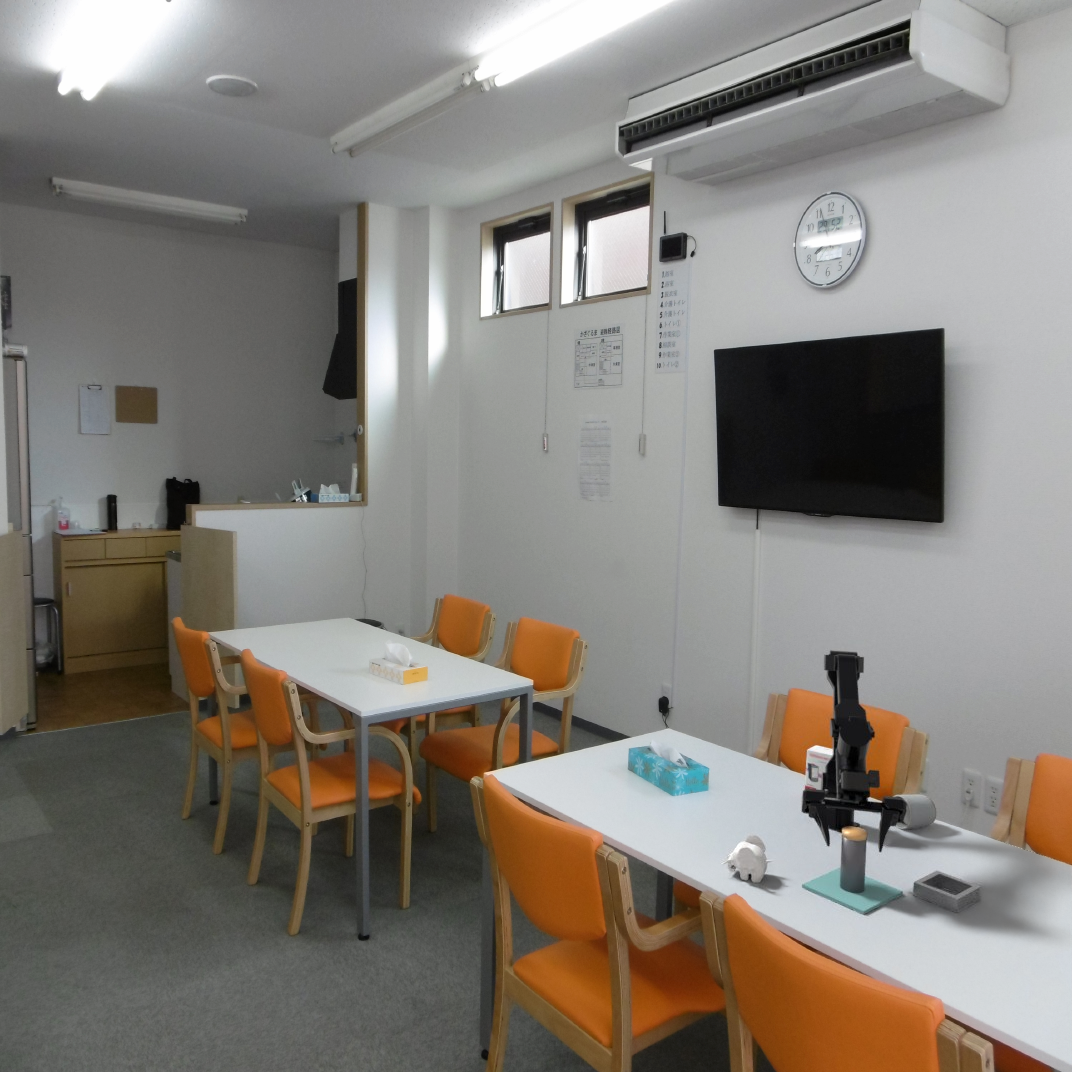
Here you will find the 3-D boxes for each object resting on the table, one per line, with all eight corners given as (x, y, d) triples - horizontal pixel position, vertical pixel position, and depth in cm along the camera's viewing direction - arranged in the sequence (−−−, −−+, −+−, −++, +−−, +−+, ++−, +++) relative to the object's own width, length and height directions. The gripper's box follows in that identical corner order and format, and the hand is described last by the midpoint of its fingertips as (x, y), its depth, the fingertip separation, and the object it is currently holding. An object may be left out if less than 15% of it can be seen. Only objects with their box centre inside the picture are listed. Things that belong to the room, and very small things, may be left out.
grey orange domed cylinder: (856, 881, 173) (859, 825, 173) (869, 892, 169) (871, 834, 168) (835, 883, 173) (837, 826, 172) (847, 893, 168) (849, 836, 168)
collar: (936, 883, 175) (936, 870, 174) (979, 899, 168) (980, 886, 168) (913, 895, 170) (913, 882, 169) (956, 912, 163) (957, 899, 163)
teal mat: (841, 869, 180) (841, 866, 180) (902, 894, 170) (902, 891, 170) (801, 887, 172) (802, 884, 172) (863, 914, 162) (863, 911, 162)
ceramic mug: (938, 830, 201) (939, 797, 200) (910, 834, 198) (911, 801, 198) (905, 814, 210) (906, 783, 210) (877, 818, 208) (878, 786, 207)
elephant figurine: (726, 863, 182) (728, 828, 182) (775, 873, 178) (776, 837, 178) (717, 878, 175) (718, 842, 175) (767, 889, 171) (769, 852, 171)
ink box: (803, 796, 220) (805, 749, 219) (811, 791, 224) (813, 744, 223) (838, 805, 215) (840, 756, 214) (846, 800, 218) (848, 752, 218)
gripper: (804, 748, 176) (804, 824, 166) (907, 756, 171) (914, 836, 161) (801, 774, 184) (801, 849, 174) (899, 783, 179) (905, 860, 169)
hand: (854, 848), depth 169 cm, fingers open, 9 cm apart
